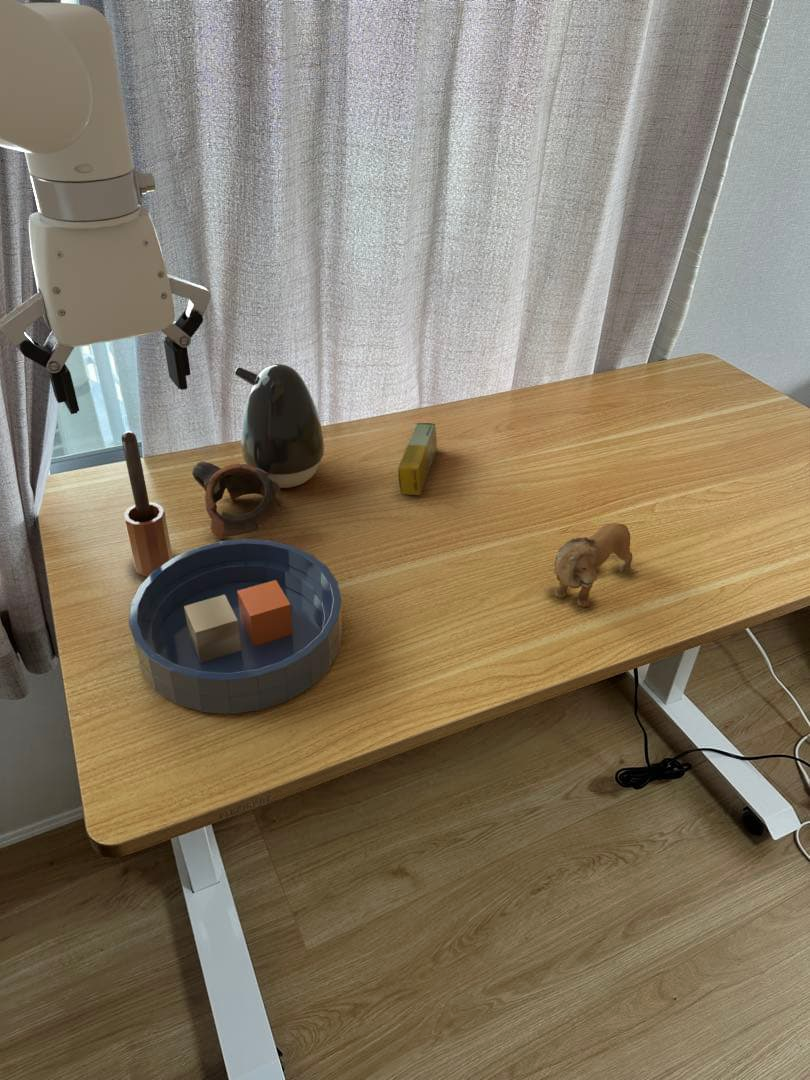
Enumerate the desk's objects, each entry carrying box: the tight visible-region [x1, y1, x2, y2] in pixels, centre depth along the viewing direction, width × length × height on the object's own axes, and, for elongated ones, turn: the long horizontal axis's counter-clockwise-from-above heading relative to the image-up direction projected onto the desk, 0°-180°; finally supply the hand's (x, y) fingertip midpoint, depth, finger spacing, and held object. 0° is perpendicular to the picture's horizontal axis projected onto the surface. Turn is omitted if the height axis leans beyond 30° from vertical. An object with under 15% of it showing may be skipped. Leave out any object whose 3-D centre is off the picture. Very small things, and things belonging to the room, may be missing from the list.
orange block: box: [237, 580, 292, 646], centre depth 79 cm, size 4×4×4 cm
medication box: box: [397, 422, 438, 496], centre depth 103 cm, size 12×3×4 cm, turn 168°
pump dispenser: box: [234, 363, 325, 489], centre depth 98 cm, size 10×10×15 cm
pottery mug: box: [191, 461, 281, 540], centre depth 94 cm, size 12×10×8 cm
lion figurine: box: [553, 522, 633, 608], centre depth 85 cm, size 15×5×9 cm, turn 144°
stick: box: [121, 430, 152, 522], centre depth 83 cm, size 1×1×16 cm
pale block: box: [184, 595, 241, 663], centre depth 77 cm, size 4×4×4 cm
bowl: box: [128, 538, 343, 715], centre depth 78 cm, size 20×20×5 cm
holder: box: [122, 501, 174, 578], centre depth 86 cm, size 4×4×7 cm
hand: (126, 395), depth 73 cm, fingers open, 9 cm apart
